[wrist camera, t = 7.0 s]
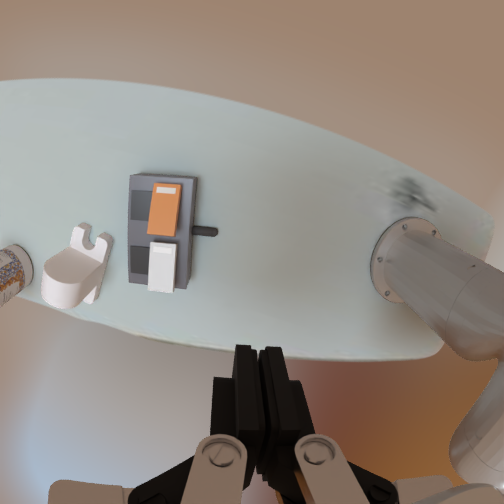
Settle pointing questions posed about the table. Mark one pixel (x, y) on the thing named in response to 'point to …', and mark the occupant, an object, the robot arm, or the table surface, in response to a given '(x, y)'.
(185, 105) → the table surface
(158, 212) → the rocker orange
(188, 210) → the rocker switch box
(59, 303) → the cable organizer
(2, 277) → the bath foam
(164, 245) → the rocker grey
